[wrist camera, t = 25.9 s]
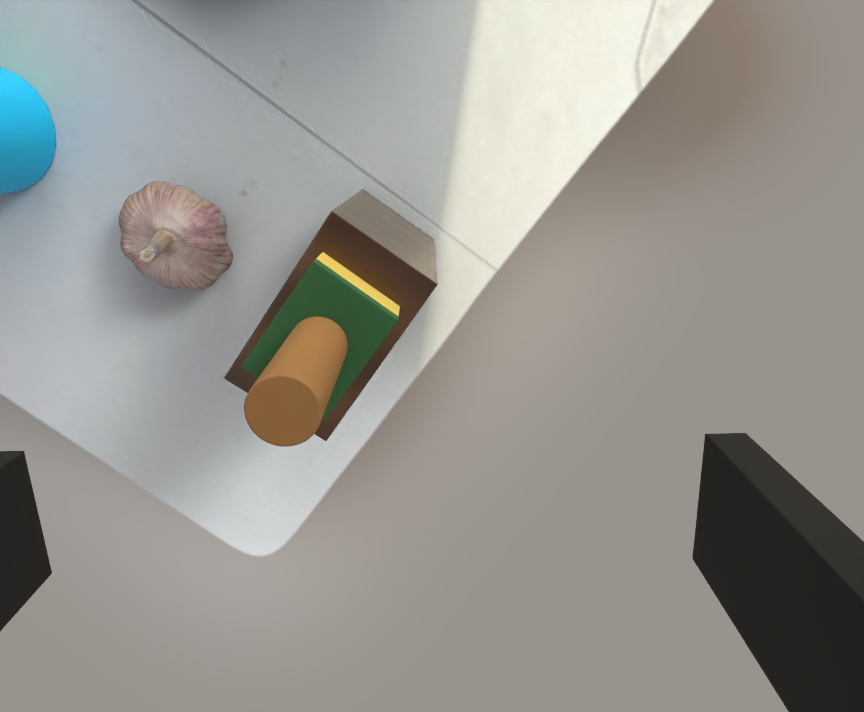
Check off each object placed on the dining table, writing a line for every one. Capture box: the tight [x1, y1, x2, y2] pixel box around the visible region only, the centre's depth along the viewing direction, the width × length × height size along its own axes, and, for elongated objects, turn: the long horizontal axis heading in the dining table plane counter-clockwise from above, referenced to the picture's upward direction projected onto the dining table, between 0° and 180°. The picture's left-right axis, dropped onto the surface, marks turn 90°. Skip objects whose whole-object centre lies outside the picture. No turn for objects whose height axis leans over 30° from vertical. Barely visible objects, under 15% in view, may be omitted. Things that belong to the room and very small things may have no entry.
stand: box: [225, 189, 437, 441], centre depth 40 cm, size 10×6×16 cm, turn 145°
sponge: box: [242, 252, 400, 446], centre depth 28 cm, size 6×4×11 cm
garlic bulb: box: [119, 181, 233, 290], centre depth 43 cm, size 8×7×8 cm
